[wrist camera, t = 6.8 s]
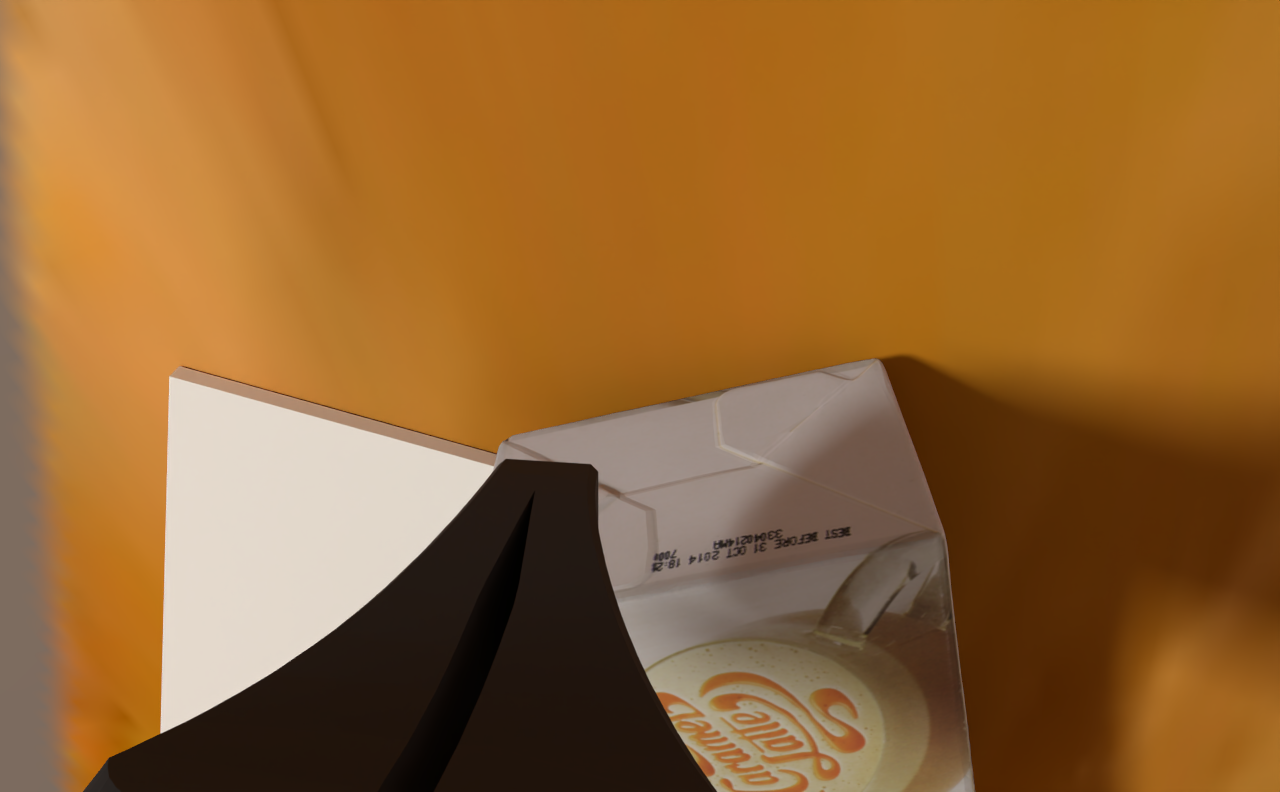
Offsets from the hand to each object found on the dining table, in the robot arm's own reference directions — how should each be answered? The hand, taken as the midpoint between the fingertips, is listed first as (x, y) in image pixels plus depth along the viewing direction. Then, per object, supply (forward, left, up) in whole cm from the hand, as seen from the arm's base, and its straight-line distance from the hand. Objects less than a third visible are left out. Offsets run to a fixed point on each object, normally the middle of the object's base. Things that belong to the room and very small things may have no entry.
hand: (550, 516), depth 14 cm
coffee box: (-3, +2, -5) cm, 6 cm away
